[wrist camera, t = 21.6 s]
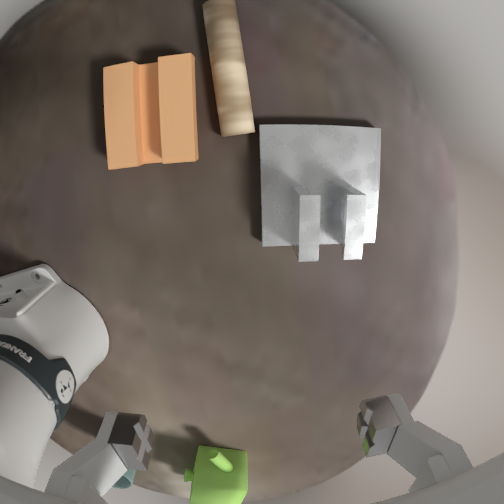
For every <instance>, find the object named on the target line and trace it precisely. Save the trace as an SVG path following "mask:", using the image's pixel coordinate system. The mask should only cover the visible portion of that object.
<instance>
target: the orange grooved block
mask: <svg viewBox="0 0 504 504" xmlns="http://www.w3.org/2000/svg"><path fill="white" fill-rule="evenodd" d="M103 85H104V116H105V133H106V147H107V158H108V169H109V170H110V169H118V168H126V167H135V166H140V165H142V164H147V163H157V162H163V164H165V163H177V162H190V161H196V160H198V159H199V158H198V140H197V119H196V92H195V57H194V56H193V55H192V53H186V54H178V55H170V56H162V57H158V62H155V63H149V64H143V65H139V64H137V63H135V62H133V61H132V62H127V63H122V64H117V65H112V66H108V67H103Z"/></svg>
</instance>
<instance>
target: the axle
mask: <svg viewBox="0 0 504 504" xmlns="http://www.w3.org/2000/svg"><path fill="white" fill-rule="evenodd" d="M202 7H203V14H204V21H205V28H206V36H207V43H208V49H209V56H210V63H211V70H212V77H213V84H214V90H215V97H216V104H217V110H218V117H219V124H220V130H221V137H225V136H232V135H239V134H246V133H252V132H255V128H254V121H253V114H252V107H251V100H250V93H249V87H248V80H247V73H246V67H245V60H244V54H243V47H242V41H241V35H240V28H239V22H238V16H237V10H236V4H235V0H209V1H206V2H205V3H204V4H203V5H202Z"/></svg>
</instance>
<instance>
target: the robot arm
mask: <svg viewBox="0 0 504 504" xmlns="http://www.w3.org/2000/svg"><path fill="white" fill-rule="evenodd" d="M38 275H39V276H38ZM108 349H109V337H108V333H107V329H106V326H105V324H104V322H103V320H102V318H101V316H100V315H99V313H98V312H97V310H96V309H95V308H94V306H93V305H92V304H91V303H90V302H89V301H88V300H87V299H86V298H85V297H84V296H83V295H82V294H80V293H79V292H78V291H76V290H75V289H73V288H72V287H70V286H69V285H67V284H66V283H64V282H63V281H62V280H61V279H60V278H59V276H58V275H57V274H56V273H55V272H54V270H53V269H52V268H51V267H50V266H48V265H47V264H40V265H37V266H33V267H30V268H27V269H24V270H20V271H17V272H14V273H11V274H8V275H4V276H1V277H0V504H108V503H107V502H106V501H105V500H104V499H103V498H102V496H103V495H104V494H105V493H106V492H107V491H108V490H109V489H110V488H111V487H112V486H113V485H114V484H115V483H116V482H117V481H118V480H119V479H120V477H121V476H122V475H123V474H124V473H125V472H126V471H127V469H132V470H144V471H147V470H148V465H149V460H150V457H149V455H148V452H149V451H150V450H151V449H152V447H153V433H152V430H151V428H150V427H149V426H148V425H146V423H147V419H146V417H145V415H141V414H130V413H121V412H111V411H108V412H107V413H106V414H105V417H104V419H103V422H102V424H101V427H100V429H99V432H98V435H97V437H96V440H95V441H91V442H90V443H89V444H87V445H86V446H84V447H83V448H82V449H80V450H79V451H78V452H76V453H75V454H74V455H72V456H71V457H70V458H68V459H67V460H66V461H64V462H63V463H61V464H60V465H59V466H57V467H56V468H54V469H53V472H52V474H51V477H50V479H49V482H48V484H47V487H46V489H45V492H42V491H39V490H36V489H34V482H35V477H36V473H37V469H38V467H39V464H40V461H41V458H42V455H43V453H44V450H45V448H46V445H47V443H48V441H49V438H50V436H51V434H52V432H53V431H54V430H56V429H57V428H58V427H59V426H60V424H61V422H62V420H63V419H64V417H65V415H66V413H67V411H68V409H69V407H70V405H71V402H72V399H73V396H74V394H75V392H76V391H77V390H78V388H79V387H80V385H81V384H82V383H83V382H85V381H86V380H87V378H88V377H89V375H90V373H91V372H92V371H93V370H94V369H95V368H96V367H97V366H98V365H99V364H100V363H101V362H102V361H103V360H104V359H105V357H106V355H107V353H108ZM360 409H361V412H360V413H359V414H358V416H357V429H358V433H359V436H360V437H362V438H363V439H364V441H363V444H362V445H363V448H364V451H365V454H366V457H372V456H376V455H381V454H385V453H387V455H389V456H390V457H391V458H392V459H394V460H395V461H396V462H397V463H399V464H400V465H401V466H402V467H403V468H405V469H406V470H407V471H408V472H410V473H411V474H412V475H414V476H415V477H416V480H415V481H414V483H413V484H412V486H411V487H410V489H409V493H407V494H404V495H401V496H398V497H395V498H391V499H388V500H384V501H380V502H376V503H372V504H504V452H503V453H501V454H500V455H498V456H496V457H494V458H492V459H490V460H488V461H486V462H484V463H482V464H480V465H478V466H476V467H474V468H473V466H472V464H471V462H470V461H469V459H468V457H467V455H466V453H465V451H464V449H463V447H462V446H461V445H460V444H458V443H456V442H454V441H453V440H451V439H449V438H447V437H445V436H444V435H442V434H440V433H438V432H436V431H435V430H433V429H431V428H429V427H428V426H426V425H424V424H422V423H421V422H419V421H415V422H414V420H413V418H412V416H411V414H410V412H409V410H408V408H407V406H406V404H405V402H404V400H403V398H402V396H401V395H400V394H399V393H395V394H390V395H386V396H380V397H376V398H371V399H366V400H362V401H361V403H360Z"/></svg>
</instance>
